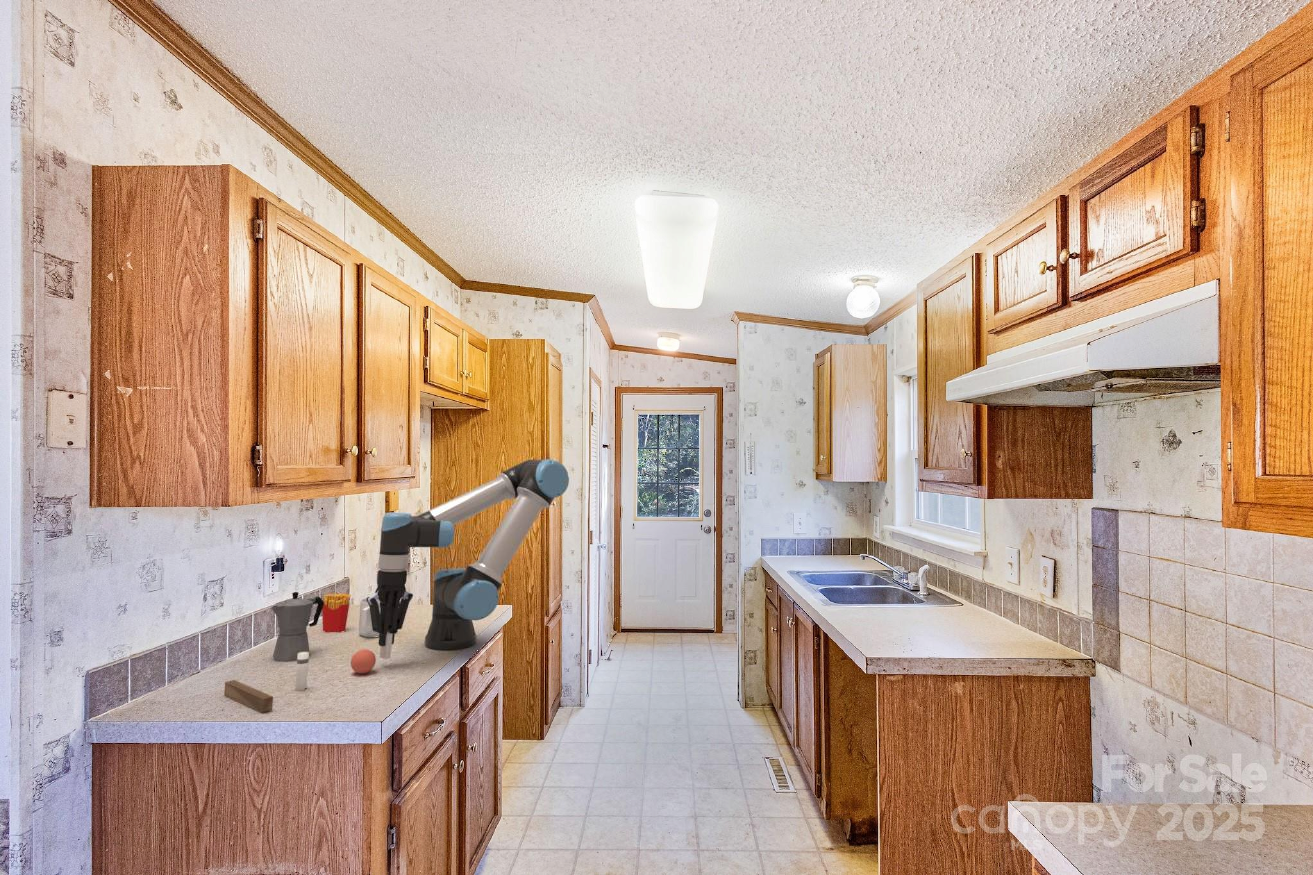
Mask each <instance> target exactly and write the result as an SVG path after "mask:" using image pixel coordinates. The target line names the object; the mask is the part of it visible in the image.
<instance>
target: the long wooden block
mask: <svg viewBox="0 0 1313 875" xmlns="http://www.w3.org/2000/svg"><path fill="white" fill-rule="evenodd" d="M223 693H224V694H223V695H224V696H225V697H227V698H230V699H231V700H233V701H236V702H238V703H239V704H242V705H244V706H246V707H248V708H251V709H252V708H253V710H255V711H257V712H259V711H260V712H259V713H261V714H265V713H267V712H266V711H269V712H271V711H270V710H272V711H273V705H274V704H273V703H274V696H272V695H271V694H268V693H265V692H264V691H261V690H258V688H255V687H252V686H249V685H247V684H244V683H243V682H240V681H238V680H236V679H232V680H229V681H225V682H224V692H223ZM264 712H265V713H264Z"/></svg>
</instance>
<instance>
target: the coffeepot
mask: <svg viewBox="0 0 1313 875" xmlns="http://www.w3.org/2000/svg"><path fill="white" fill-rule="evenodd" d="M299 594H300V592H298V591H295V592H294V591H293V592H292V594H291V595H292V598H290V599H286V600H282V601H278V602H276V603H275V605H272V606H270V610H272V611H273V613H274V614H275V616H276V618H277V626H278V629H279V632H278V633H279V634H277V637H276V638H277V639H276V642H275V645H274V650H273V654H272V657H273V660H274V661H276V662H294V661H297V656H298V653H300V652H309V656H311V653H310V643H309V637H308V632H307V627H308V626H309V627H315V626H317V625H318V622H319V619H320V616H321V615H322V608H323V606H324V599H322V598H321V597H320V596H316V597H310V598H309V597H308V598H306V599H305V598H298V597H299ZM316 604H317V606H316V610H315V614H314V615H313V621H312V622H311V623H309V622H310V619H311V615H312V610H313V606H314V605H316Z"/></svg>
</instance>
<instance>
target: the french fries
mask: <svg viewBox="0 0 1313 875" xmlns="http://www.w3.org/2000/svg"><path fill="white" fill-rule="evenodd" d="M350 600H351V595H350V594H347V593H341V592H339V593H338V594H337V593H328V594H324V595H323V601H324V606H323V608H322V611H321V615H322V632H323V631H325V632H324V633H330V632H339V633H343V632H342V631H344V632H345V631H346V627H347V621H348V616H349V608H350Z"/></svg>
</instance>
